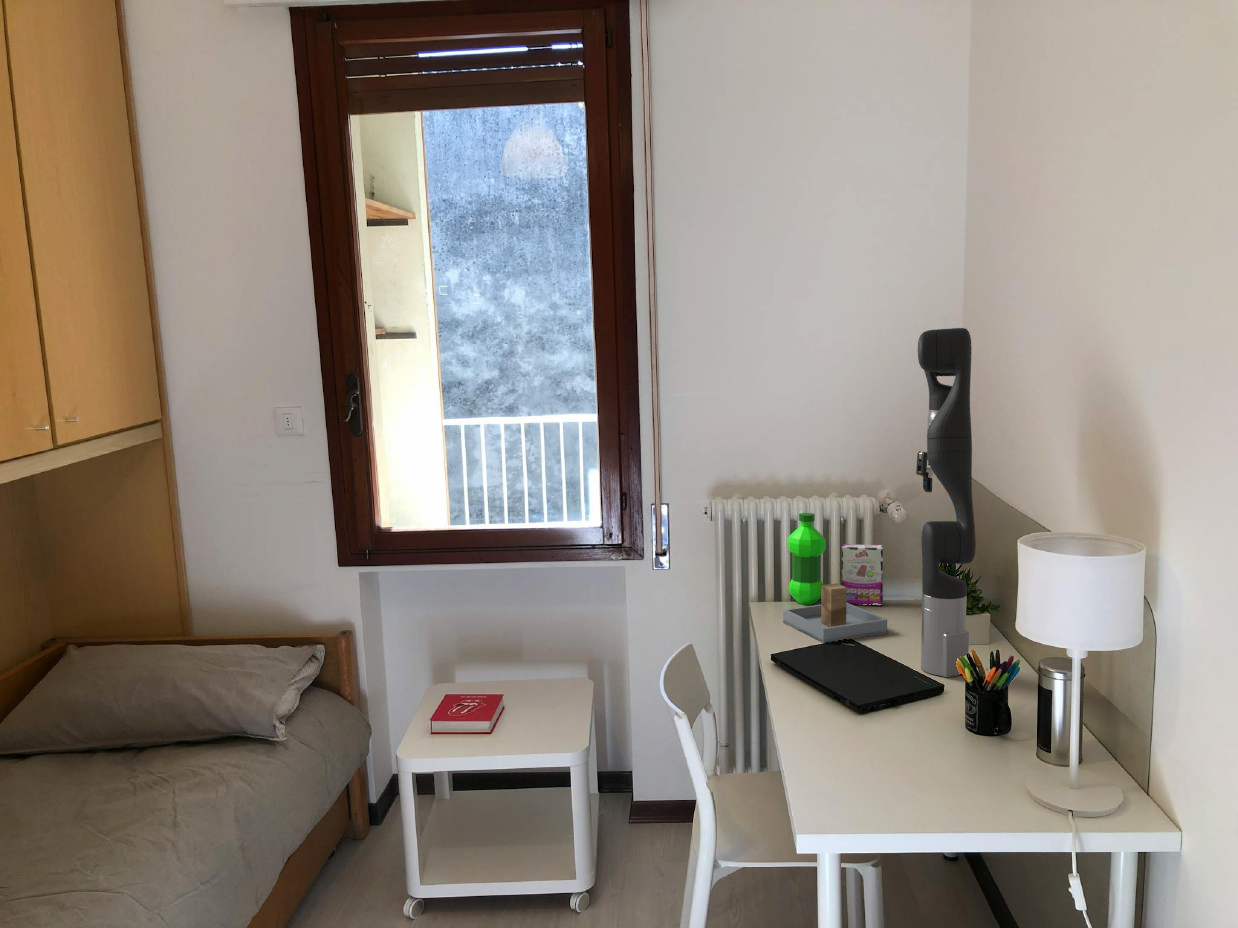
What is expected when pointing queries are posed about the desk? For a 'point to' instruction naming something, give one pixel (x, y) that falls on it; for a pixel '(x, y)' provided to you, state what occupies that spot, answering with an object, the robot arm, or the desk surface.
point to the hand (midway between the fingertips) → (941, 490)
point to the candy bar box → (863, 573)
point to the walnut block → (833, 605)
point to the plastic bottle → (806, 561)
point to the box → (856, 626)
